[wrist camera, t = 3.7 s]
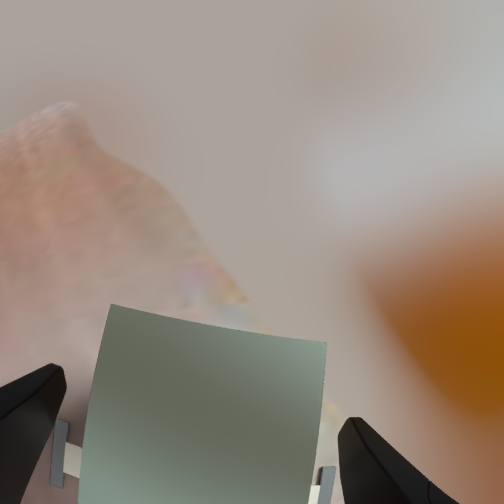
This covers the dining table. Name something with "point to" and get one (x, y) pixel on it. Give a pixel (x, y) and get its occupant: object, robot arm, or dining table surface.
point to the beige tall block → (200, 414)
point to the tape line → (69, 455)
